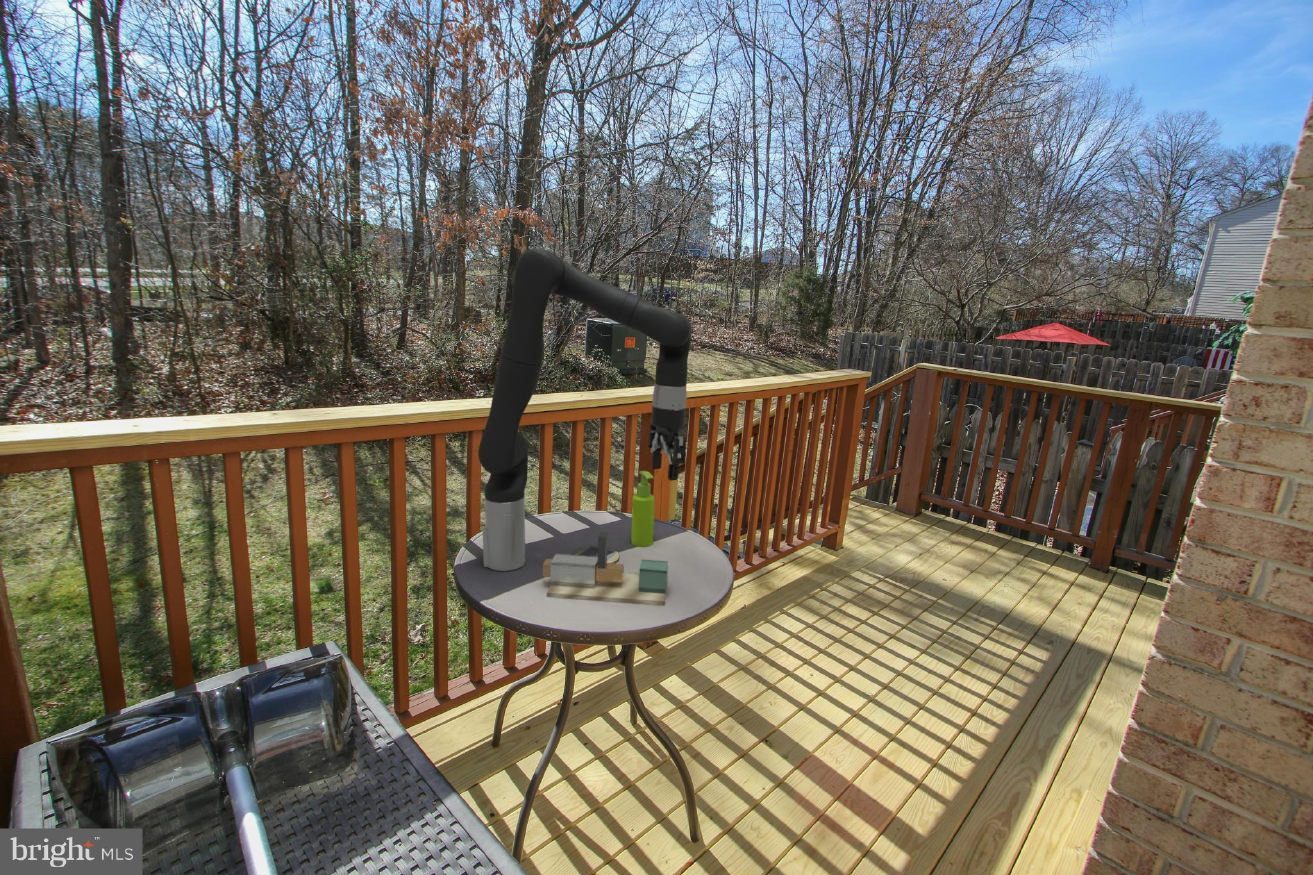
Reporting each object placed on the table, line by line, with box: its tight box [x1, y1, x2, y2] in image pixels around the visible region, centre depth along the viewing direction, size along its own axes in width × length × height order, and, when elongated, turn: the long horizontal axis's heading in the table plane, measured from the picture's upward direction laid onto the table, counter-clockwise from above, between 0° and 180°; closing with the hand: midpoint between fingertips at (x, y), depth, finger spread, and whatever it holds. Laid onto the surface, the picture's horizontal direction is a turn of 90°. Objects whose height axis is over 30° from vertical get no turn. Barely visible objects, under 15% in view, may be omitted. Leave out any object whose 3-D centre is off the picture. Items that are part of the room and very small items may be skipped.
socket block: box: [638, 559, 669, 594], centre depth 138 cm, size 6×5×6 cm
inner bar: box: [542, 531, 625, 582], centre depth 138 cm, size 18×3×10 cm, turn 85°
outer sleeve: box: [550, 553, 598, 588], centre depth 139 cm, size 10×5×6 cm, turn 85°
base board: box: [546, 573, 669, 606], centre depth 140 cm, size 26×12×1 cm, turn 86°
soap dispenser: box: [630, 470, 656, 548], centre depth 163 cm, size 6×7×20 cm
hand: (664, 474), depth 140 cm, fingers open, 8 cm apart
